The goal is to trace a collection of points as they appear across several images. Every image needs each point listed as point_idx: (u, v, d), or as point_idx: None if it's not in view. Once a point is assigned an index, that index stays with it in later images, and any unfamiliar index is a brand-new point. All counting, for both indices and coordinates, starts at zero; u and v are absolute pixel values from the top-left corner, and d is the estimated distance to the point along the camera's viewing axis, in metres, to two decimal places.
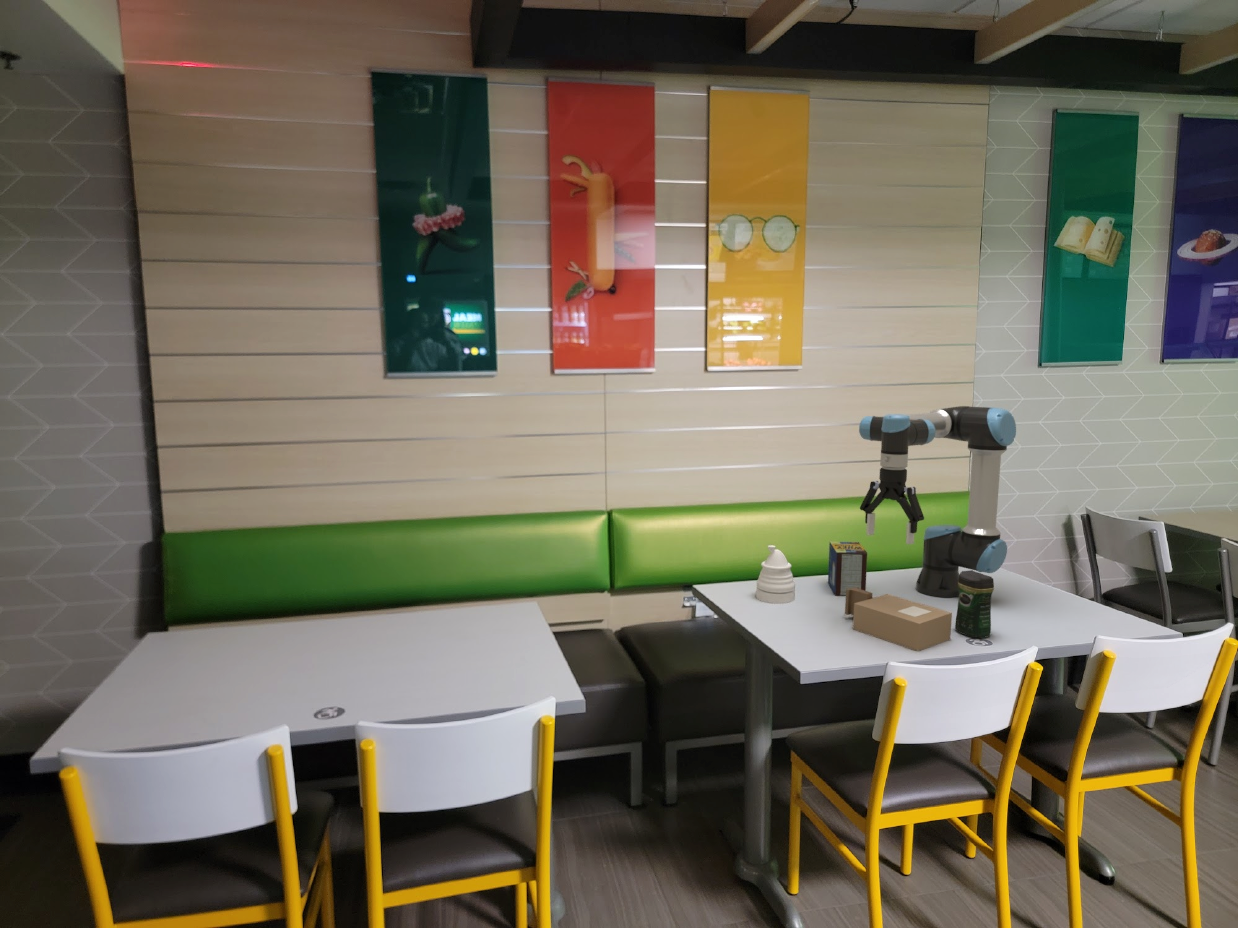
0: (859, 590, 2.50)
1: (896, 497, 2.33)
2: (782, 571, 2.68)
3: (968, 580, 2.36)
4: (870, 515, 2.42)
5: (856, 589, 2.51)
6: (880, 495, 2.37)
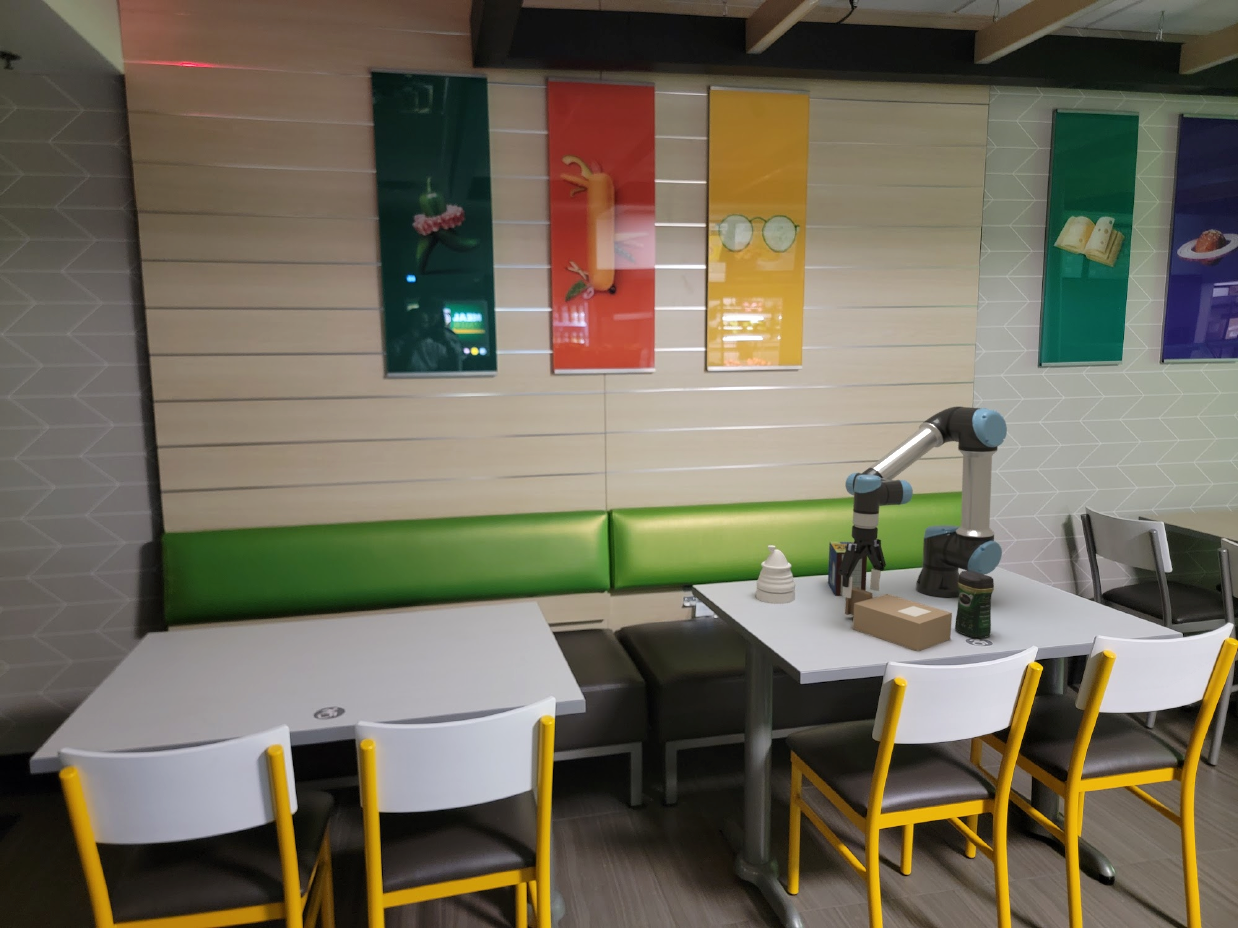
0: (859, 590, 2.50)
1: None
2: (782, 571, 2.68)
3: (968, 580, 2.36)
4: (872, 570, 2.53)
5: (856, 589, 2.51)
6: None
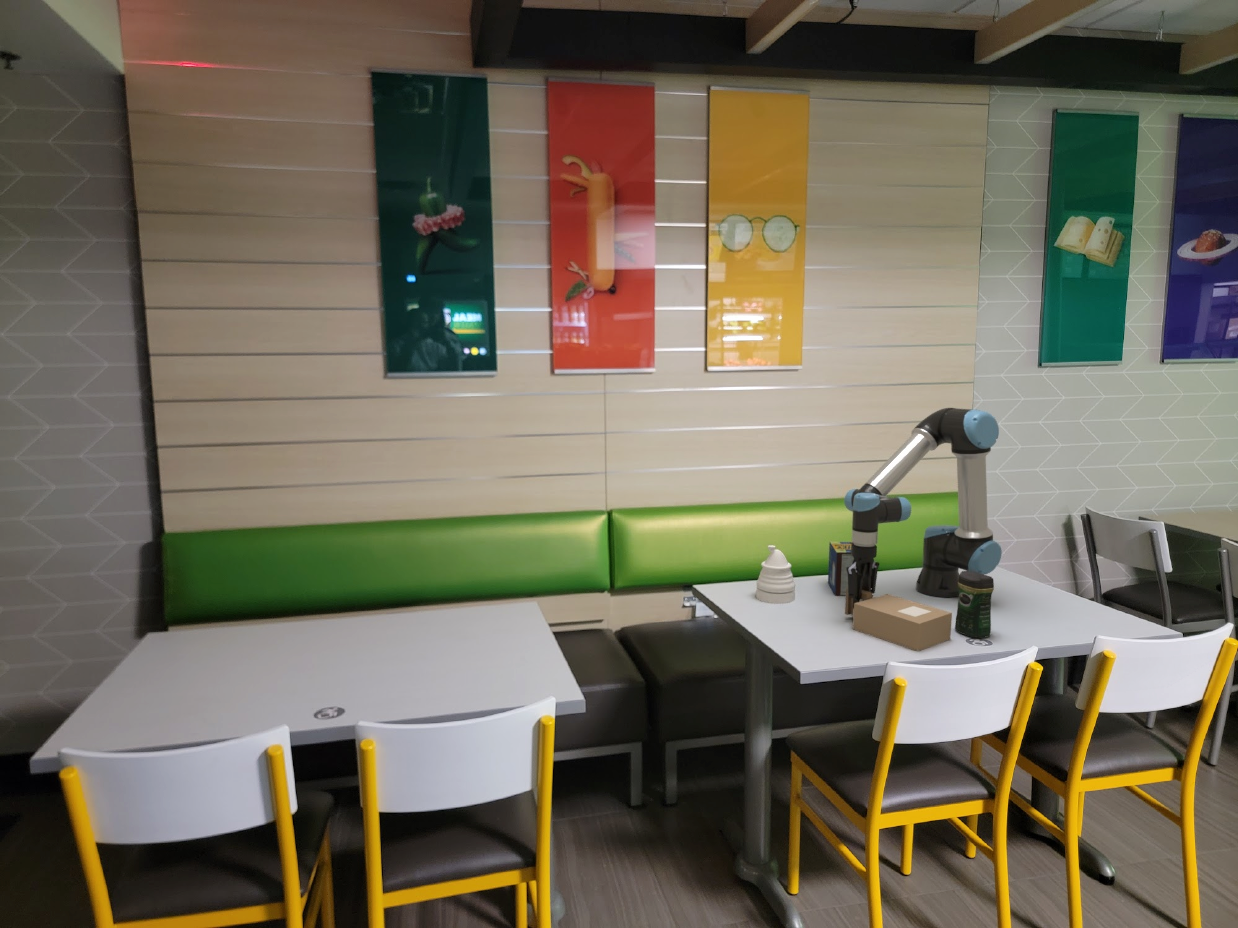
0: None
1: None
2: (782, 571, 2.68)
3: (968, 580, 2.36)
4: None
5: None
6: None
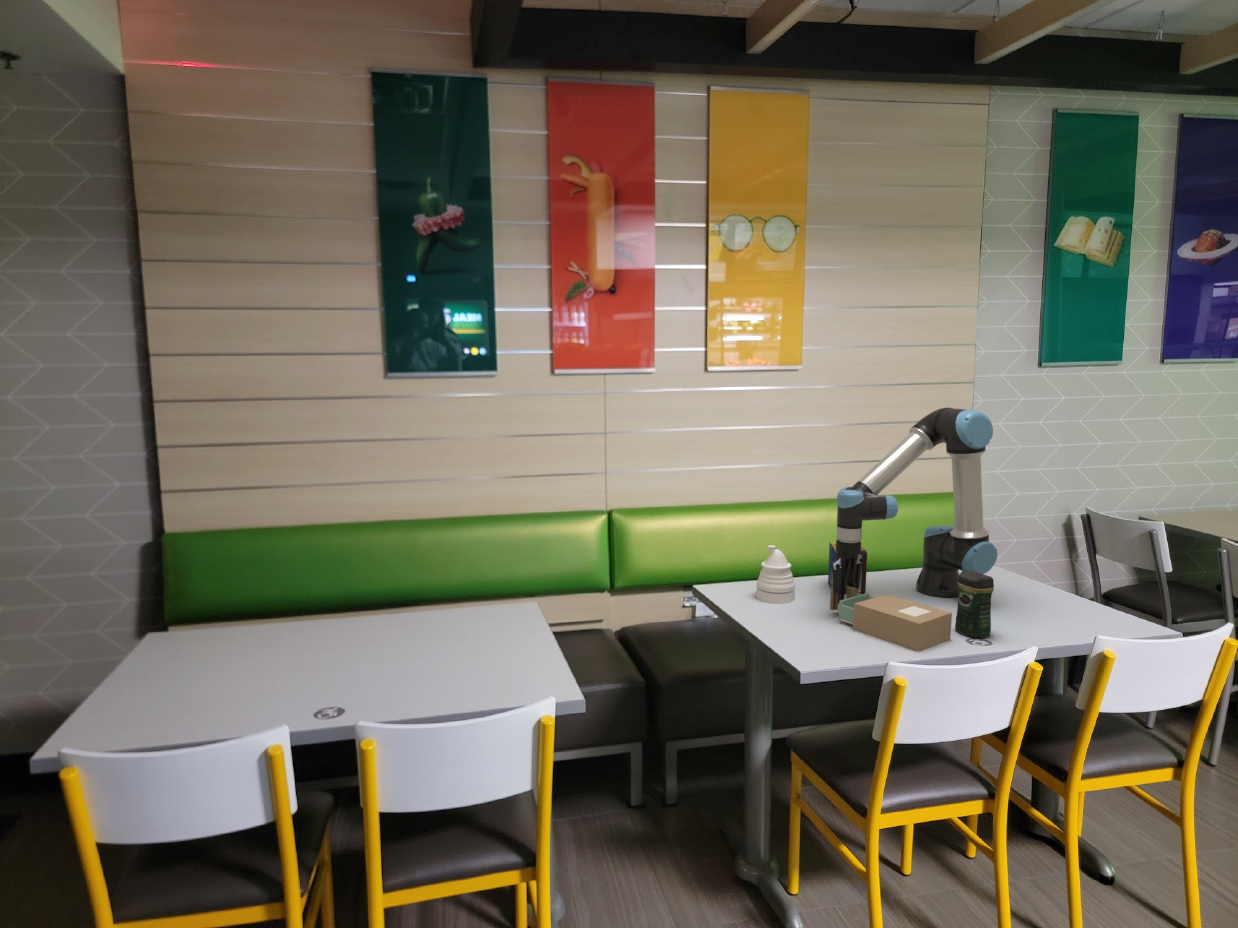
0: None
1: None
2: (782, 571, 2.68)
3: (968, 580, 2.36)
4: None
5: None
6: None
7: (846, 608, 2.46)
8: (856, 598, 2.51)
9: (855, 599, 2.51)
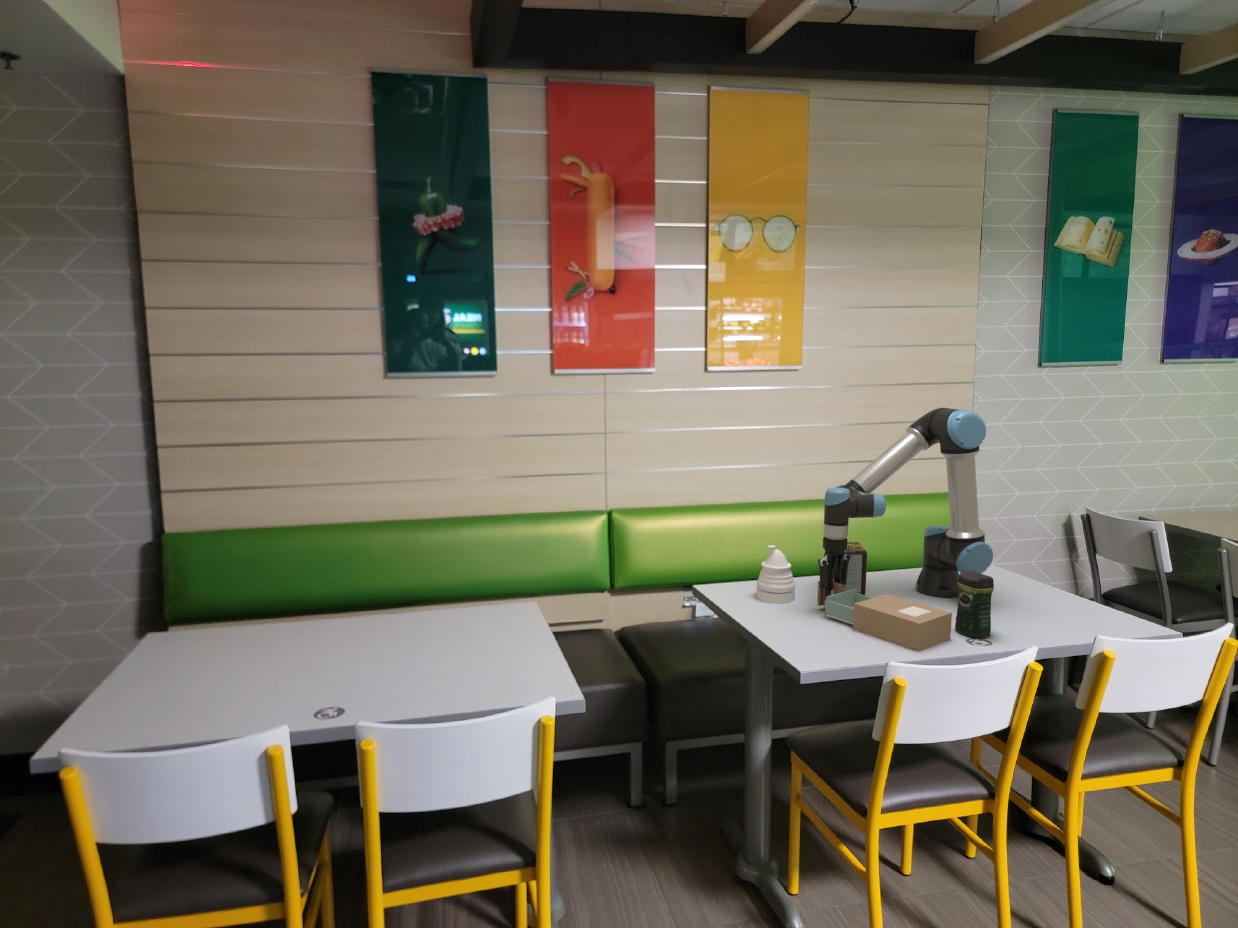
0: None
1: None
2: (782, 571, 2.68)
3: (968, 580, 2.36)
4: None
5: None
6: None
7: (832, 604, 2.50)
8: (843, 594, 2.55)
9: (842, 595, 2.55)
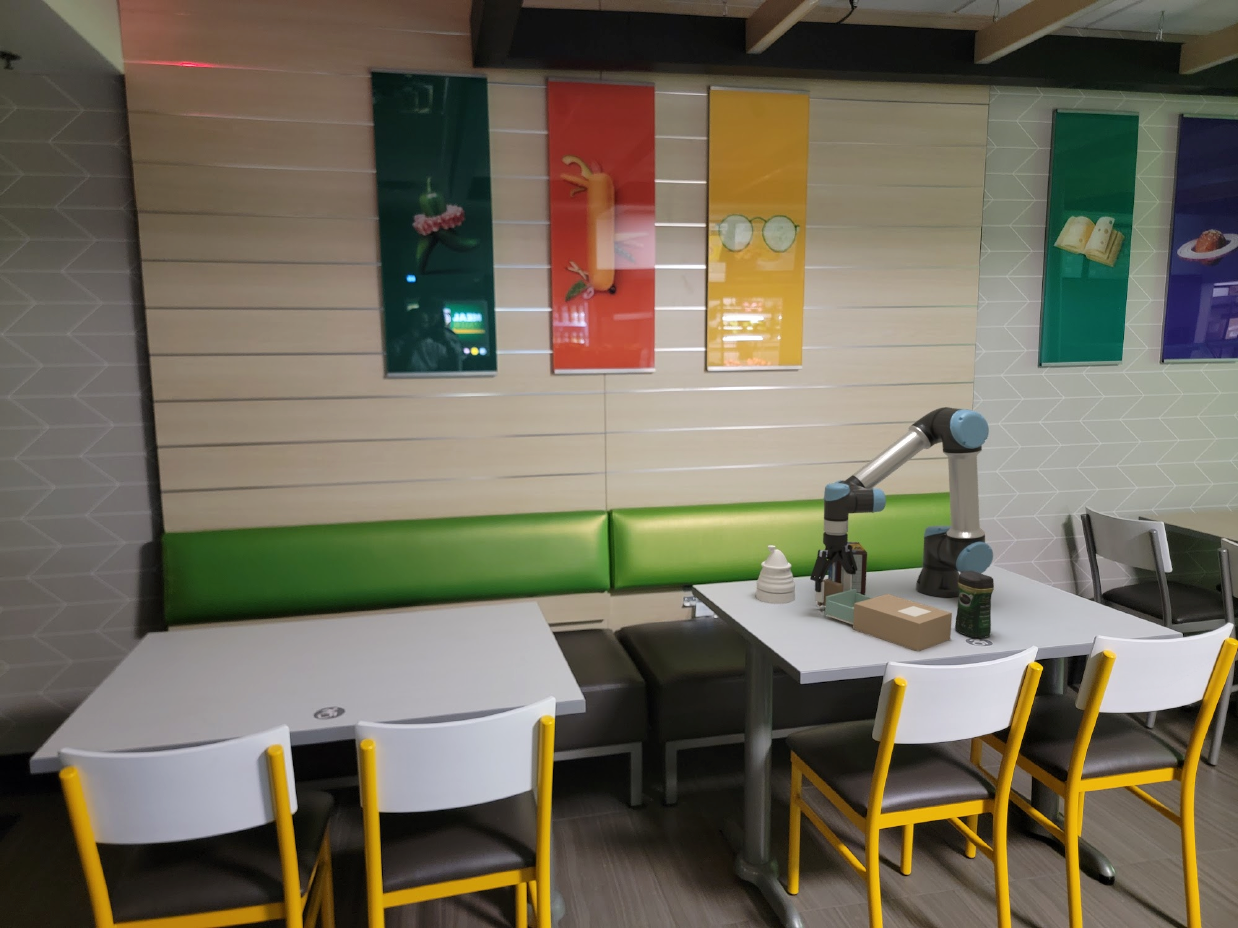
0: (831, 582, 2.59)
1: None
2: (782, 571, 2.68)
3: (968, 580, 2.36)
4: (844, 574, 2.62)
5: (828, 581, 2.60)
6: None
7: (832, 604, 2.50)
8: (842, 594, 2.55)
9: (841, 595, 2.55)
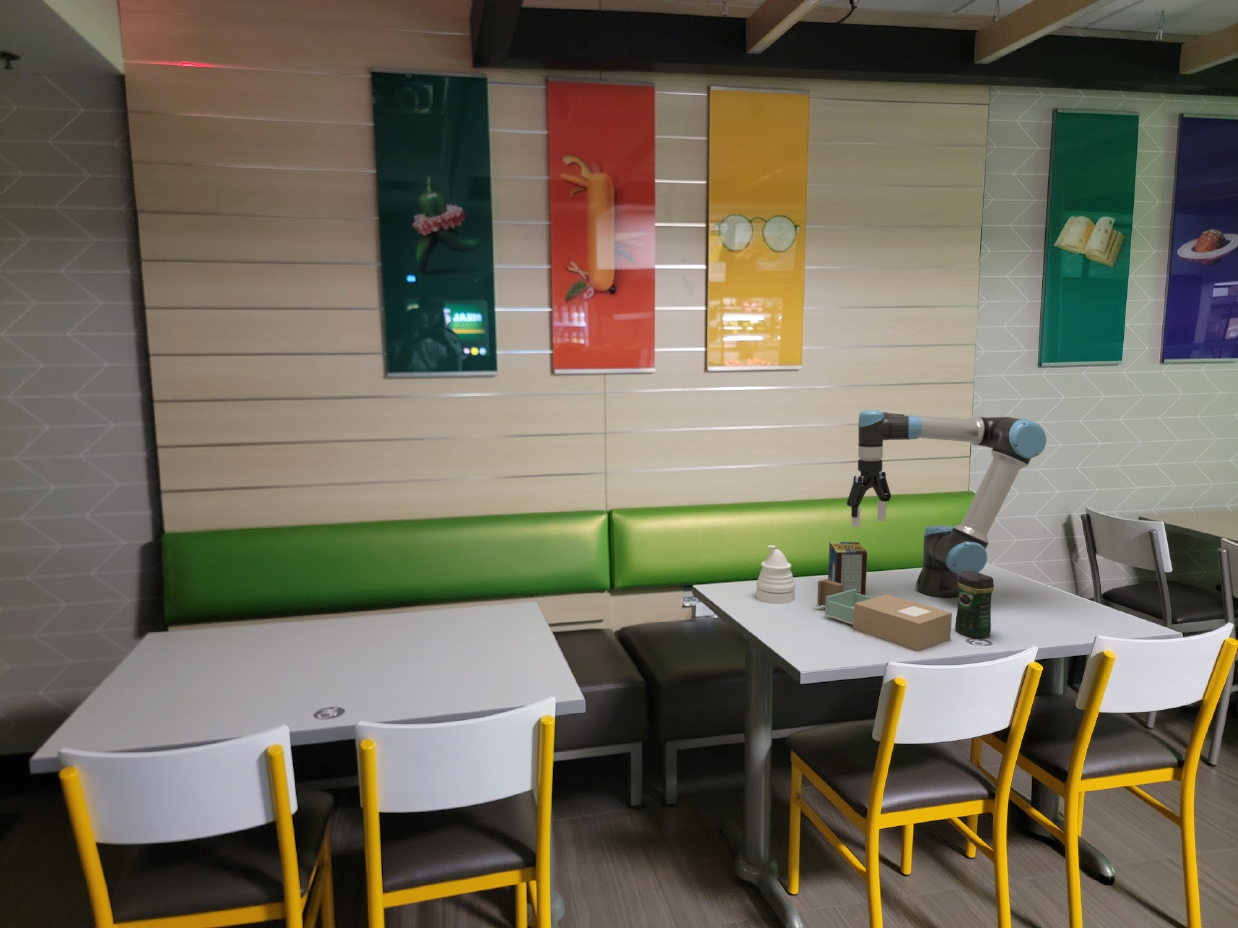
0: (831, 582, 2.59)
1: None
2: (782, 571, 2.68)
3: (968, 580, 2.36)
4: (878, 502, 2.66)
5: (828, 581, 2.60)
6: None
7: (832, 604, 2.50)
8: (842, 594, 2.55)
9: (841, 595, 2.55)
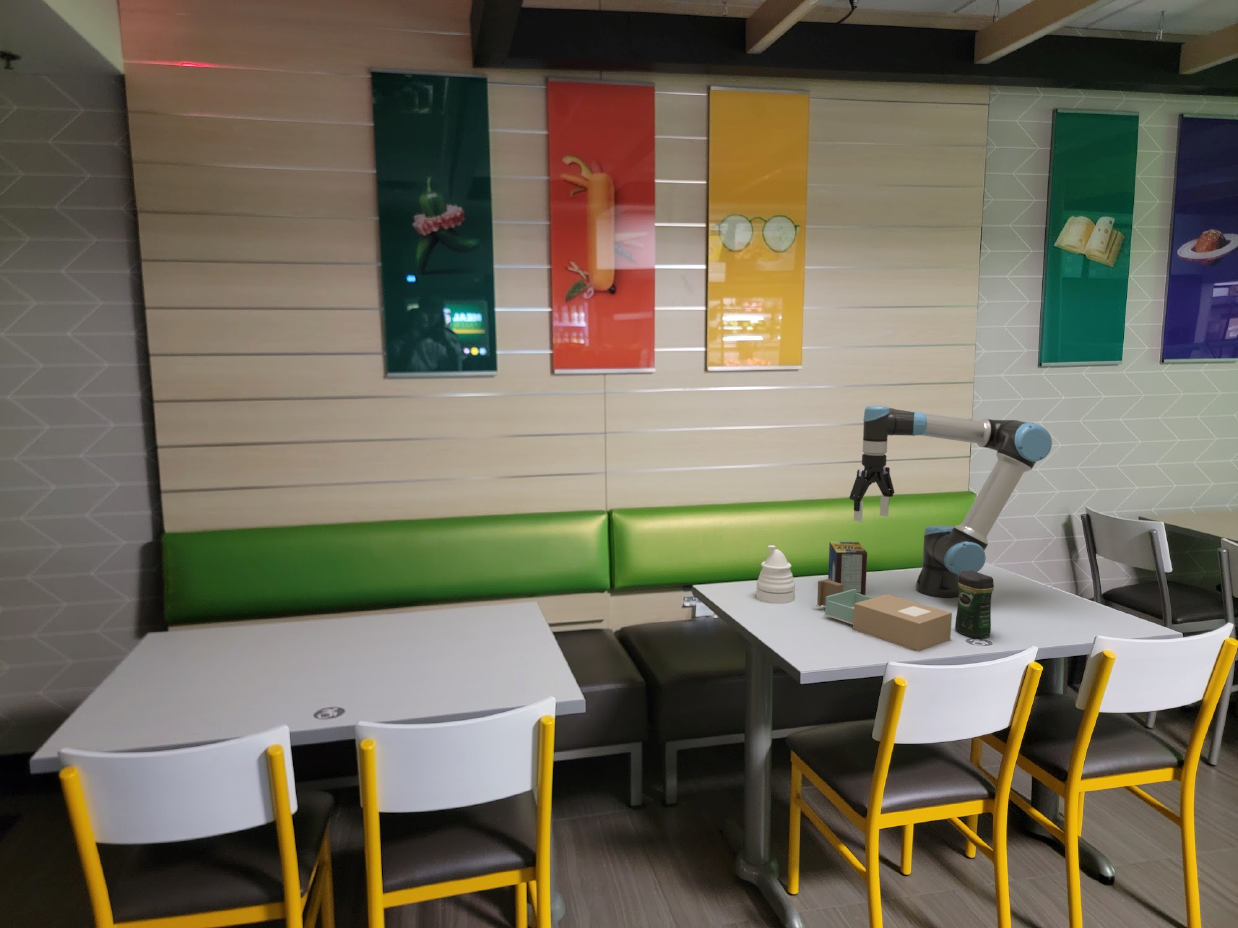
0: (831, 582, 2.59)
1: None
2: (782, 571, 2.68)
3: (968, 580, 2.36)
4: (881, 497, 2.67)
5: (828, 581, 2.60)
6: None
7: (832, 604, 2.50)
8: (842, 594, 2.55)
9: (841, 595, 2.55)
